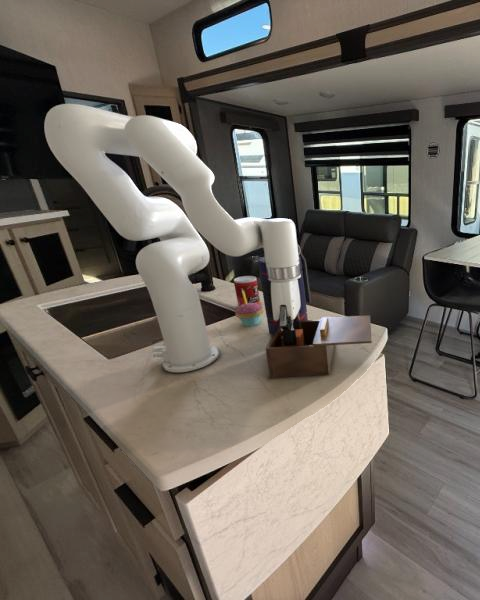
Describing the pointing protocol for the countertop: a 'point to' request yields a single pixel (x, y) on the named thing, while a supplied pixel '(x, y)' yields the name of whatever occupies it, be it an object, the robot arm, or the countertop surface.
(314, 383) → the countertop surface
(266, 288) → the grenade
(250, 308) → the cupcake
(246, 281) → the canned food
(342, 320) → the sliding door
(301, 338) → the block
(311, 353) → the storage box
